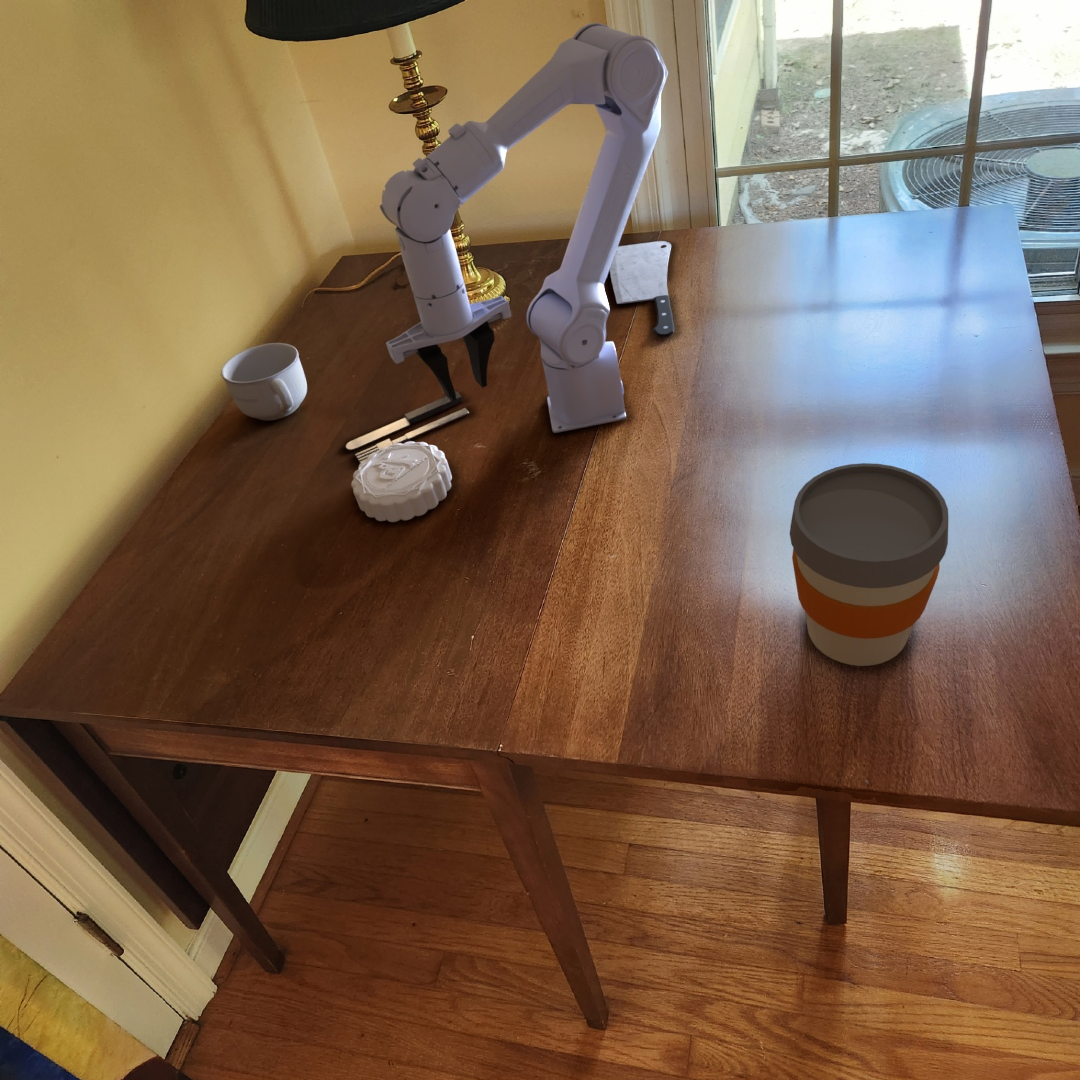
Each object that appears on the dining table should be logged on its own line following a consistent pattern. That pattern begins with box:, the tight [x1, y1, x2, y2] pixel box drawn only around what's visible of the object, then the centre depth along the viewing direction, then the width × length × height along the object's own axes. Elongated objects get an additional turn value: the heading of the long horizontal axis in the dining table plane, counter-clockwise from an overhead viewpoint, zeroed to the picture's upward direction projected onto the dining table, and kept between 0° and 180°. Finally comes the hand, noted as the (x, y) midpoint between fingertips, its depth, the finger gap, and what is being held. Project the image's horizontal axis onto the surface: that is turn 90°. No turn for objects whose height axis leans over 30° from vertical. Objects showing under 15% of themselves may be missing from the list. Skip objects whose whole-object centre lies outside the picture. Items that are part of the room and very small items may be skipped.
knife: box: [345, 391, 464, 452], centre depth 121 cm, size 17×2×1 cm, turn 117°
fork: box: [354, 407, 470, 465], centre depth 119 cm, size 16×2×1 cm, turn 117°
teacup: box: [220, 342, 308, 421], centre depth 126 cm, size 14×11×8 cm
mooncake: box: [350, 440, 453, 523], centre depth 110 cm, size 12×12×4 cm
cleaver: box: [609, 240, 676, 338], centre depth 136 cm, size 29×1×10 cm
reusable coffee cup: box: [789, 462, 949, 667], centre depth 79 cm, size 13×13×15 cm
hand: (466, 389), depth 107 cm, fingers open, 3 cm apart
